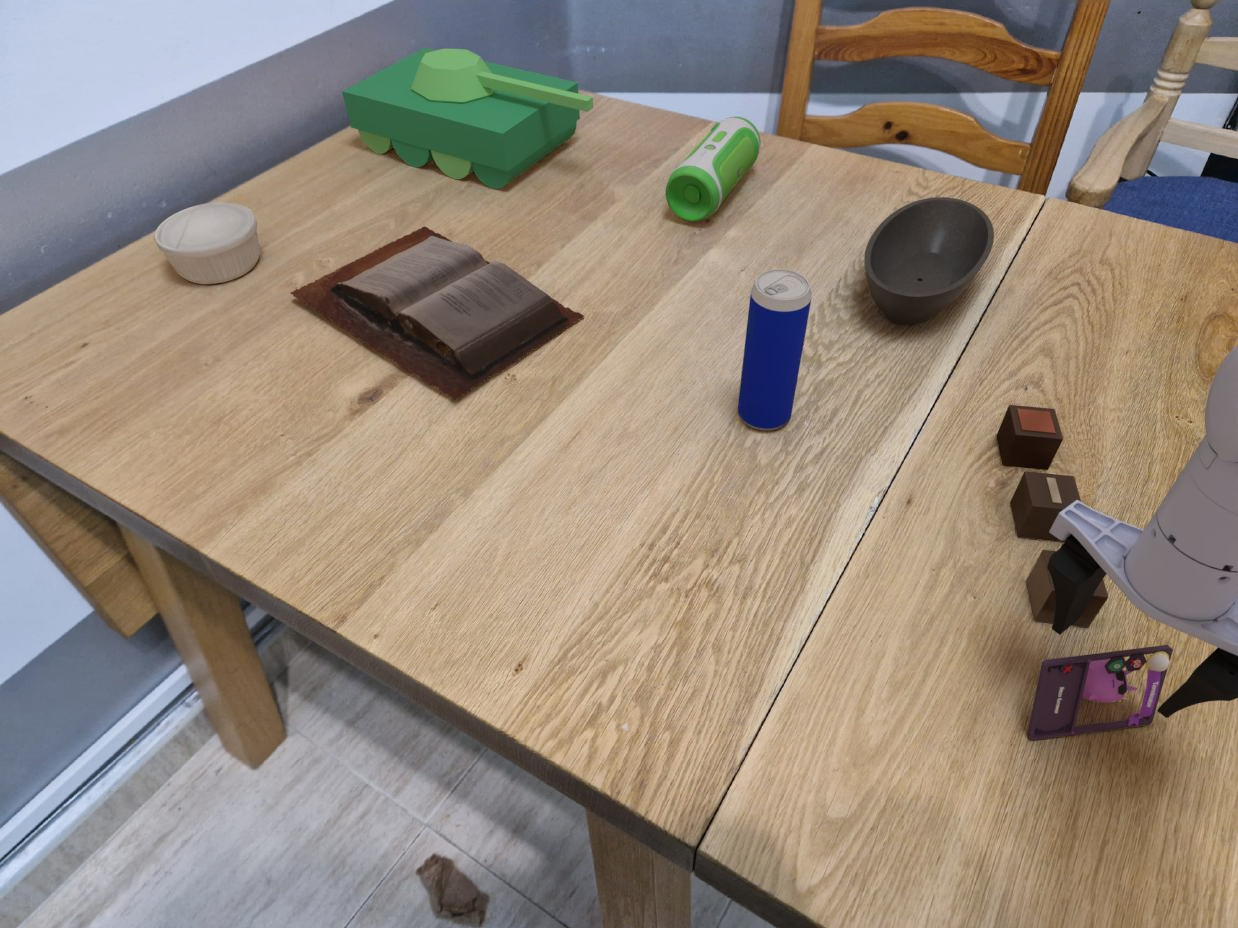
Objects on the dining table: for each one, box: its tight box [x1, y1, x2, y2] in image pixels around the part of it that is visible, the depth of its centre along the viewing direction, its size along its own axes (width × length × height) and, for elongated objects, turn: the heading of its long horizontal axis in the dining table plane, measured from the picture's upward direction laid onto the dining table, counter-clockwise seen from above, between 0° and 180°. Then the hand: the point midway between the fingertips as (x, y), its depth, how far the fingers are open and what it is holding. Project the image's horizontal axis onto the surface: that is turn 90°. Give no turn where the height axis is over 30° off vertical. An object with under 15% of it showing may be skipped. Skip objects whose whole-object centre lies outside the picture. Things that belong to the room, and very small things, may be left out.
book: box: [290, 226, 585, 401], centre depth 96 cm, size 20×28×4 cm
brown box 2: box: [1009, 470, 1082, 543], centre depth 72 cm, size 4×4×4 cm
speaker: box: [665, 116, 761, 223], centre depth 111 cm, size 18×7×8 cm, turn 154°
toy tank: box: [341, 47, 594, 190], centre depth 119 cm, size 18×12×35 cm
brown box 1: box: [995, 404, 1064, 471], centre depth 78 cm, size 4×4×4 cm
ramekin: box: [153, 201, 261, 285], centre depth 102 cm, size 11×11×5 cm
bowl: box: [863, 196, 995, 326], centre depth 96 cm, size 12×22×6 cm, turn 148°
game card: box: [1026, 644, 1174, 741], centre depth 60 cm, size 7×5×9 cm
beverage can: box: [737, 268, 813, 431], centre depth 78 cm, size 5×5×15 cm
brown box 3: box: [1025, 549, 1109, 628], centre depth 66 cm, size 4×4×4 cm
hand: (1115, 663), depth 57 cm, fingers open, 7 cm apart
